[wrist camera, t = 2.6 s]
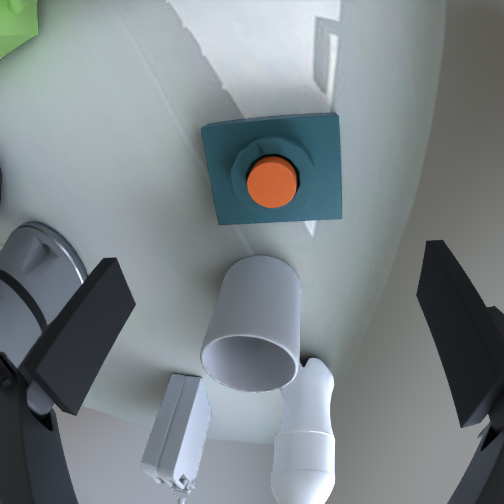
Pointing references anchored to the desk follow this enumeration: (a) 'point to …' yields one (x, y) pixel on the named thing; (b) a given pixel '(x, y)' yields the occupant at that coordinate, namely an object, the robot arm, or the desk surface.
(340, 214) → the stop button base
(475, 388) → the robot arm
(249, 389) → the mug
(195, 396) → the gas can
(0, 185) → the stone
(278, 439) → the water bottle
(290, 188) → the stop button
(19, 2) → the teapot
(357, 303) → the desk surface
